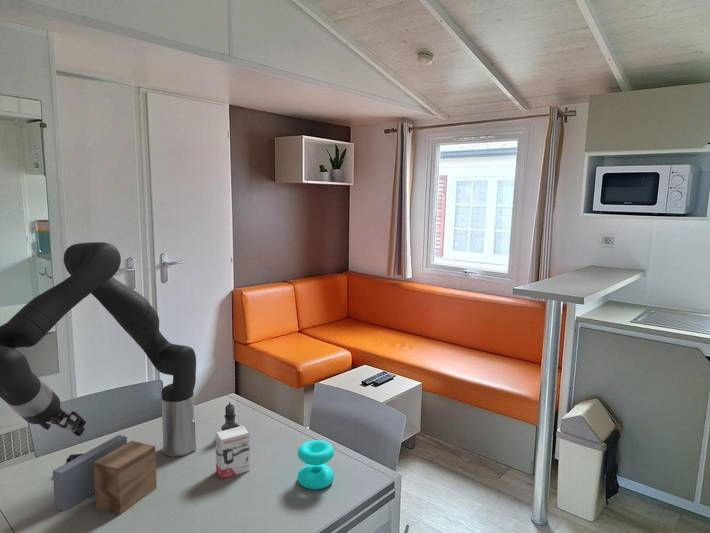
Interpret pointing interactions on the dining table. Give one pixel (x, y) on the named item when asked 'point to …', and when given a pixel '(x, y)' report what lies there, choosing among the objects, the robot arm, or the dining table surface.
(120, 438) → the slate board
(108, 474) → the walnut block
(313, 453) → the turquoise spool
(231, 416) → the dark grey figurine
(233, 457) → the ink box
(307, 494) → the dining table surface
